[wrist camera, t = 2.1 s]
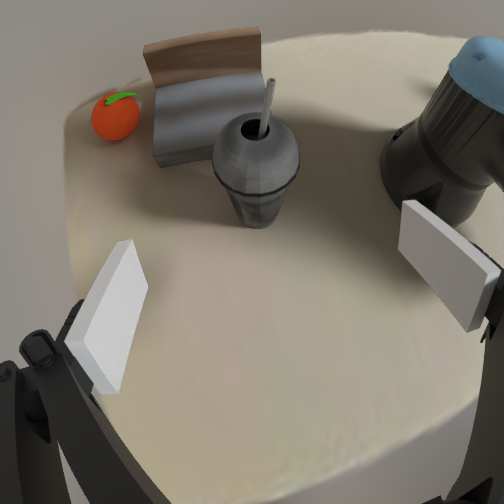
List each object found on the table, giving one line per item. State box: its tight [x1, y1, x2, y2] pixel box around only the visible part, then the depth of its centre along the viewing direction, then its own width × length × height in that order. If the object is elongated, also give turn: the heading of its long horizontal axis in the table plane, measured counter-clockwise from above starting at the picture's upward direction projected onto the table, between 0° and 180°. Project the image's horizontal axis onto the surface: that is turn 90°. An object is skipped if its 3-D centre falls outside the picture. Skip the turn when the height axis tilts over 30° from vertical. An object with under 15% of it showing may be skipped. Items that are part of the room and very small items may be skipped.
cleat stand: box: [143, 27, 272, 167], centre depth 35 cm, size 14×15×10 cm
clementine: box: [92, 92, 143, 141], centre depth 37 cm, size 8×7×7 cm
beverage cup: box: [212, 78, 300, 229], centre depth 26 cm, size 7×7×20 cm
